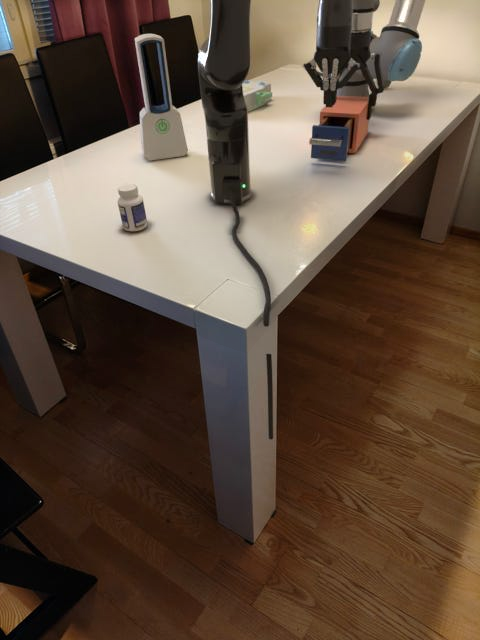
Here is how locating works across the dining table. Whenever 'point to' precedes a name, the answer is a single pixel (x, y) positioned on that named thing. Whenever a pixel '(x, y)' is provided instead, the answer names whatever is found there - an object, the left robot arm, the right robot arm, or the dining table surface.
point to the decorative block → (256, 94)
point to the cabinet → (350, 116)
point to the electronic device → (159, 110)
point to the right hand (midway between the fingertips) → (349, 117)
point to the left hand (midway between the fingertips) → (329, 106)
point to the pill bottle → (131, 208)
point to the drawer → (332, 138)
